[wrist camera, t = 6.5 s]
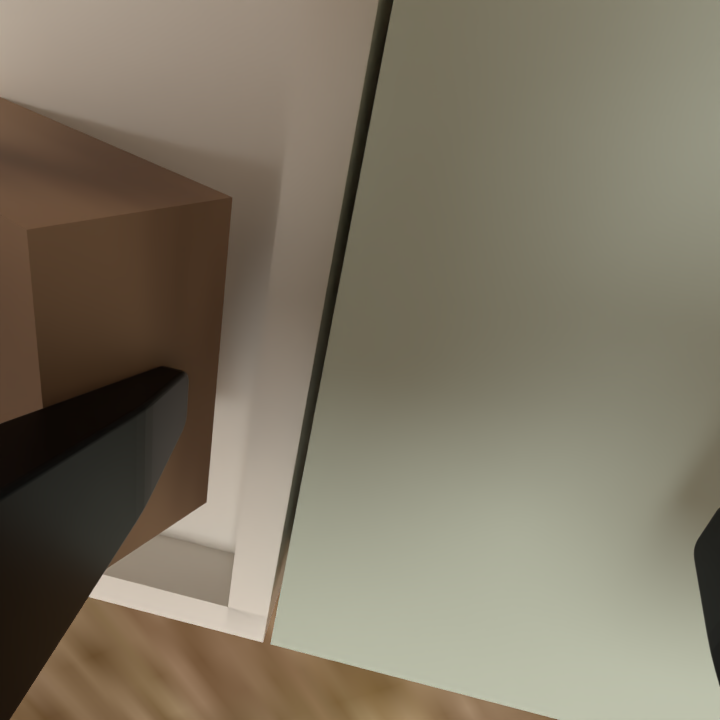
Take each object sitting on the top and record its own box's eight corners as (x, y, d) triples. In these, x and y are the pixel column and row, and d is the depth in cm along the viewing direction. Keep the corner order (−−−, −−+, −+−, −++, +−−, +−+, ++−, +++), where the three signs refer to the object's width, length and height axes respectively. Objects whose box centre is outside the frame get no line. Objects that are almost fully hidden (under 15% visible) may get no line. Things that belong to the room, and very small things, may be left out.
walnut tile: (232, 197, 9) (26, 229, 6) (206, 502, 12) (60, 599, 9) (0, 96, 11) (-208, 94, 9) (28, 369, 14) (-122, 420, 12)
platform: (1404, 122, 9) (1808, 161, 6) (839, 682, 16) (914, 812, 13) (431, -91, 9) (420, -139, 7) (301, 545, 16) (270, 644, 14)
